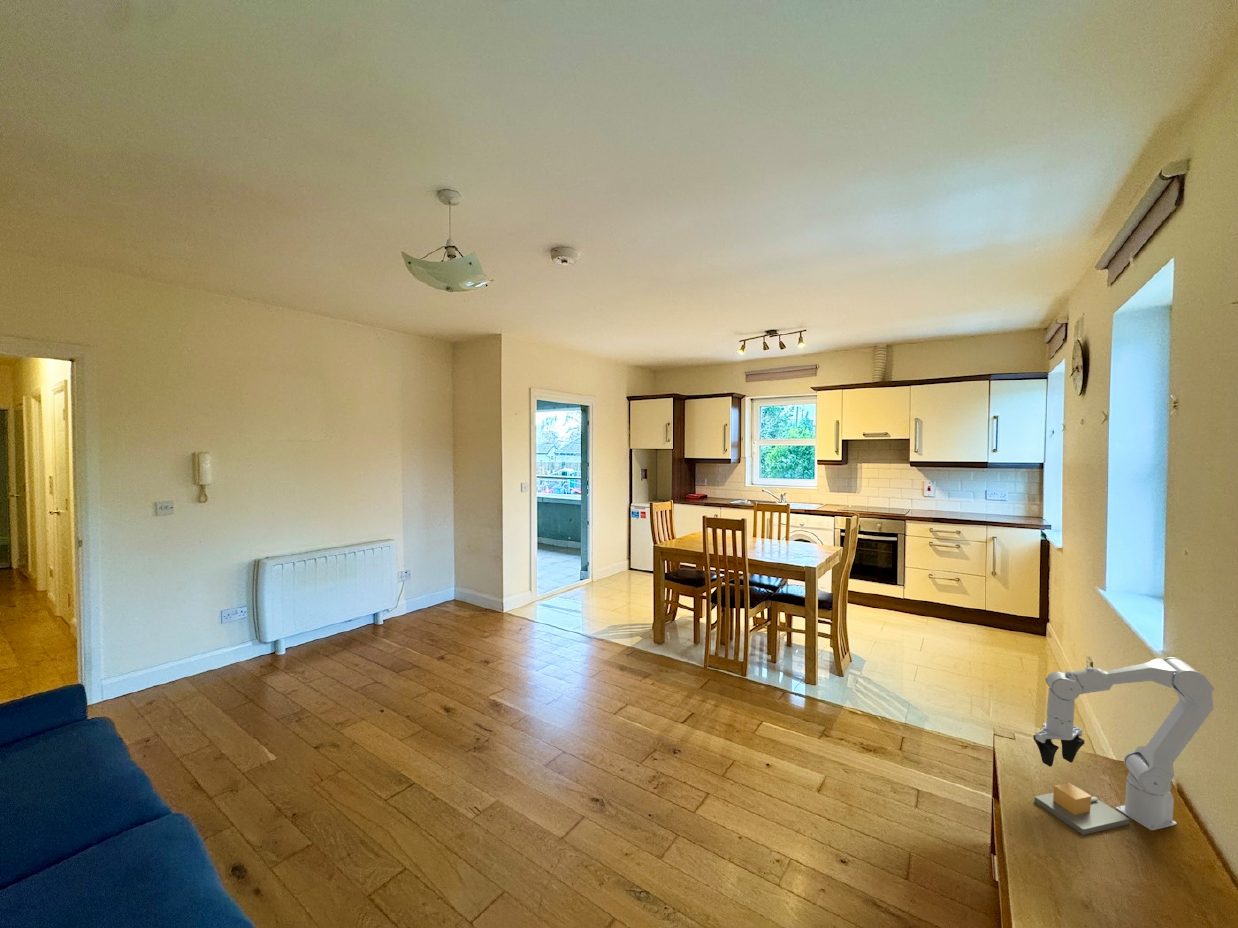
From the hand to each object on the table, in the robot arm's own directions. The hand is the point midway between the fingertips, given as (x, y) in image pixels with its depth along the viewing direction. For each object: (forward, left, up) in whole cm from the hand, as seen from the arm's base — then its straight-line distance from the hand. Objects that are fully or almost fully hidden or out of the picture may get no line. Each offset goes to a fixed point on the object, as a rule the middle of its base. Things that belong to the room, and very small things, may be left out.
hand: (1057, 762), depth 143 cm
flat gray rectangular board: (+1, +7, -9) cm, 12 cm away
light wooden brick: (+3, +6, -8) cm, 10 cm away
